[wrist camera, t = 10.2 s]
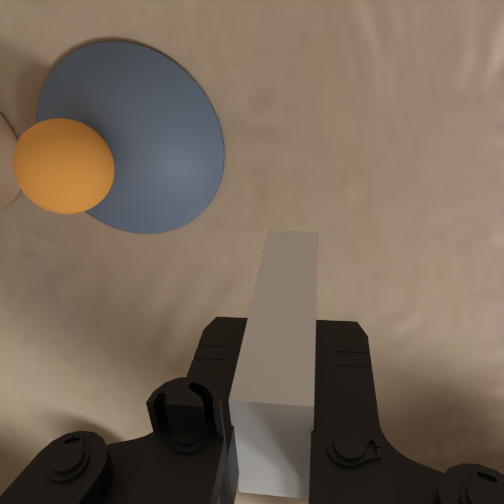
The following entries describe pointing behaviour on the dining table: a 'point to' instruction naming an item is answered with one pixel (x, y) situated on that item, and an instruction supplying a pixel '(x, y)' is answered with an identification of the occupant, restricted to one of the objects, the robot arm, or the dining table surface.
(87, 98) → the disc
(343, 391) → the robot arm
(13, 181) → the disc
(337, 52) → the dining table surface
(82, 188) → the ball
